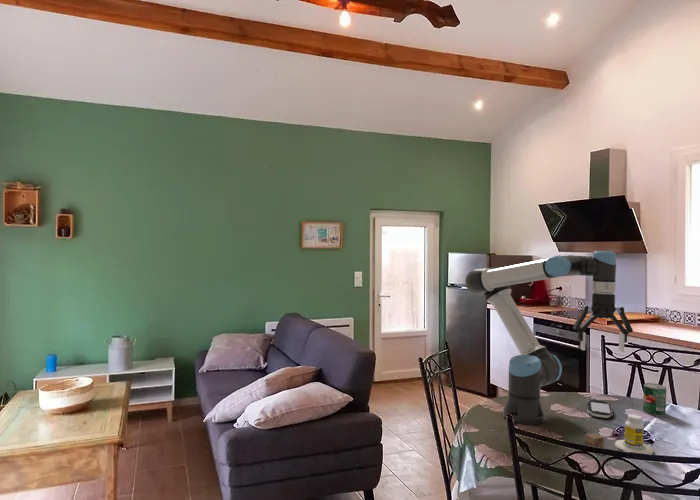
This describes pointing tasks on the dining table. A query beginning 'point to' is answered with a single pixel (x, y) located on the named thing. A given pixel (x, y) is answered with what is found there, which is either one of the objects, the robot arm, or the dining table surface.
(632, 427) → the supplement bottle
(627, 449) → the saucer
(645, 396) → the canned tomato
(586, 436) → the walnut block
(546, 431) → the dining table surface
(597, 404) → the gaming console
